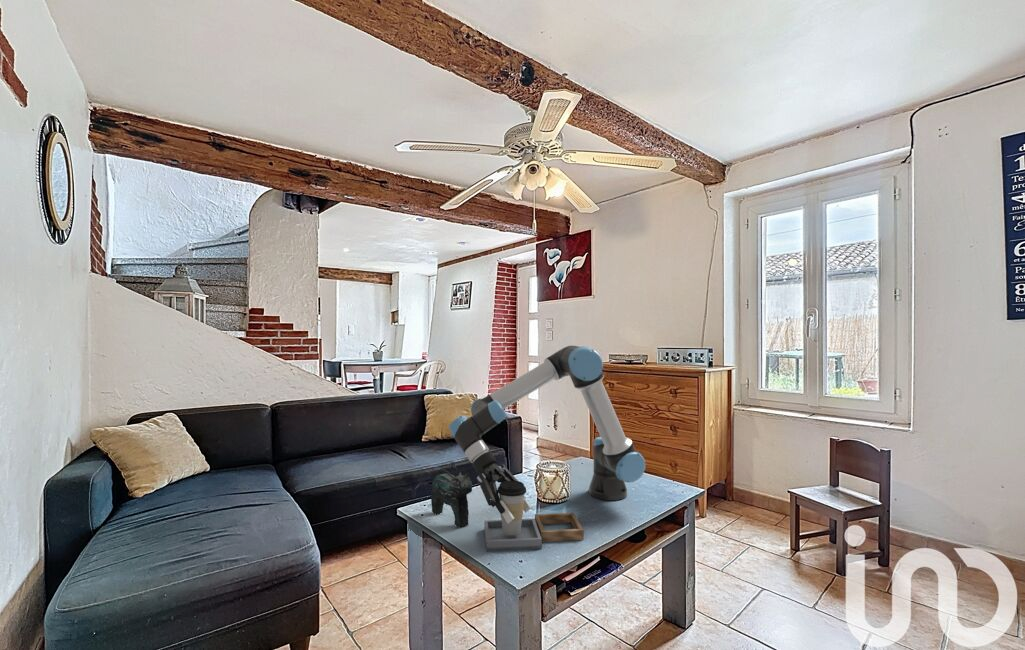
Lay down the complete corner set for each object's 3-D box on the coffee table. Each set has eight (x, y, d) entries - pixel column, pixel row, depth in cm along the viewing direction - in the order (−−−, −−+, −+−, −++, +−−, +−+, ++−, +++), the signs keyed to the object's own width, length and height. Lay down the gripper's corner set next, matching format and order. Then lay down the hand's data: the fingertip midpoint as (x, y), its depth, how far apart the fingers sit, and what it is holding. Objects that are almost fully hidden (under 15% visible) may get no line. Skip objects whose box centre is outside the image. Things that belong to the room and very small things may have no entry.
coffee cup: (501, 539, 142) (501, 491, 142) (494, 526, 151) (494, 481, 151) (530, 535, 145) (530, 488, 145) (521, 523, 154) (521, 478, 154)
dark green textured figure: (473, 526, 157) (474, 467, 157) (458, 532, 153) (458, 472, 153) (440, 508, 172) (441, 455, 171) (426, 513, 167) (426, 458, 167)
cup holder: (573, 521, 161) (573, 512, 161) (583, 539, 147) (583, 530, 147) (534, 522, 160) (534, 514, 160) (541, 541, 146) (541, 532, 146)
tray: (534, 527, 156) (534, 518, 156) (541, 548, 141) (541, 539, 141) (484, 529, 154) (484, 520, 154) (486, 551, 140) (486, 541, 140)
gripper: (493, 456, 166) (531, 510, 157) (453, 472, 147) (492, 534, 138) (505, 443, 163) (544, 497, 154) (465, 458, 144) (507, 521, 135)
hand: (520, 515), depth 146 cm, fingers closed on coffee cup, 9 cm apart
